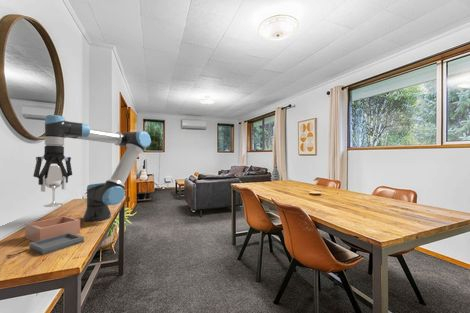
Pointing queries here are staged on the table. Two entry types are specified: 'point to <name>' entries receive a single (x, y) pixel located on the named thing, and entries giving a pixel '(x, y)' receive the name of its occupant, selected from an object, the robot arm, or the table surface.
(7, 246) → the table surface
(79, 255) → the table surface
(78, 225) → the holder
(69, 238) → the tray
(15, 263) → the table surface
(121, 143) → the robot arm
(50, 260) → the table surface
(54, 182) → the wineglass
